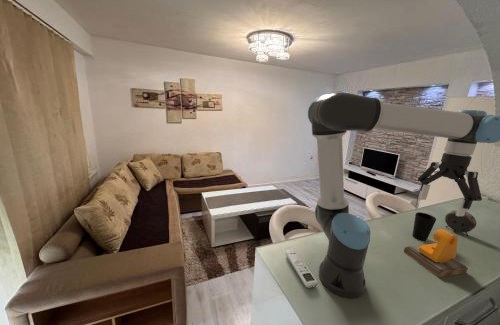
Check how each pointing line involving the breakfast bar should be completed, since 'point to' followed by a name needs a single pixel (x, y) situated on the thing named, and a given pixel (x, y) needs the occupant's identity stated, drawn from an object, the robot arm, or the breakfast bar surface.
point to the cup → (423, 226)
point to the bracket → (441, 247)
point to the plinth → (436, 263)
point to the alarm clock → (460, 222)
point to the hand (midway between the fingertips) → (439, 206)
